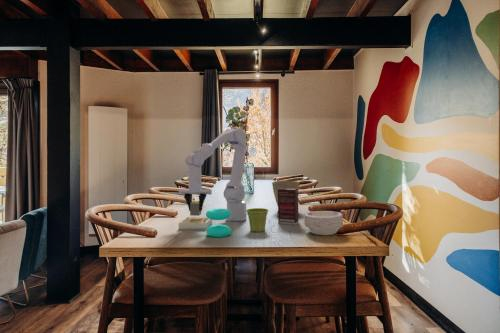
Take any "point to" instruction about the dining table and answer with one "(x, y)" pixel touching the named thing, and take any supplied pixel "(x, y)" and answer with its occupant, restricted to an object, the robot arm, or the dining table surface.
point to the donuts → (218, 229)
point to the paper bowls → (323, 222)
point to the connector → (194, 208)
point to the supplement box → (288, 206)
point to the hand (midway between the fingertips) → (195, 210)
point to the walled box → (195, 223)
